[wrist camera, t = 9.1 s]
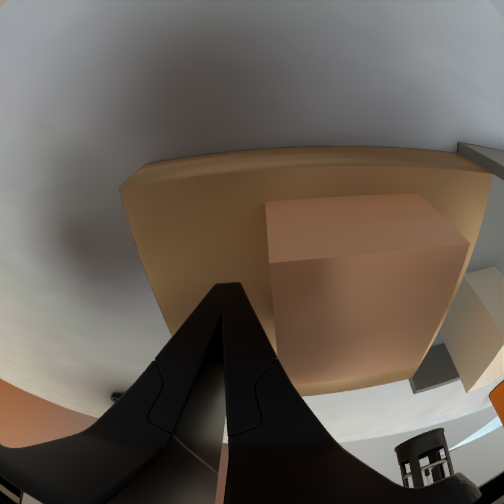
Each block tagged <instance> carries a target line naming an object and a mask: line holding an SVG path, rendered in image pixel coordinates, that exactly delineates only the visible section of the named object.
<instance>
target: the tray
mask: <svg viewBox="0 0 504 504" xmlns="http://www.w3.org/2000/svg"><path fill="white" fill-rule="evenodd" d="M458 154H460V155H462V156H464V157H465V158H467V159H469V160H471V161H472V162H474V163H476V164H478V165H479V166H481V167H483V168H484V169H486V170H488V171H489V172H491V173H492V174H493V177H492V182H491V187H490V192H489V196H488V201H487V205H486V209H485V213H484V217H483V220H482V224H481V227H480V231H479V234H478V237H477V240H476V244H475V247H474V250H473V253H472V255H471V258H470V261H469V264H468V267H467V269H466V272H465V273H469V272H473V271H477V270H482V269H486V268H490V267H494V266H496V268H497V269H498V270H499V271H500V272H501V274H502V275H503V276H504V151H502V150H497V149H492V148H487V147H482V146H477V145H471V144H465V143H459V145H458ZM443 323H444V322H443ZM442 325H443V324H442ZM441 327H442V326H441ZM440 329H441V328H440ZM439 332H440V330H439ZM439 332H438V334H437V336H436V338H435V339H434V341H433V343H432V345H431V347H430V349H429V350H428V352H427V354H426V356H425V357H424V359H423V361H422V362H421V364H420V366H419V367H418V369H417V371H416V372H415V374H414V375H413V377H412V378H409V382H410V385H411V388H412V391H413V394H416V393H420V392H424V391H427V390H430V389H434V388H437V387H440V386H443V385H446V384H449V383H452V382H455V381H458V380H460V379H461V378H460V376H459V374H458V371H457V369H456V367H455V365H454V362H453V360H452V358H451V356H450V354H449V352H448V350H447V347H446V345H445V343H444V341H443V339H442V337H441V335H440V333H439Z"/></svg>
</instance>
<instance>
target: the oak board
mask: <svg viewBox="0 0 504 504" xmlns="http://www.w3.org/2000/svg"><path fill="white" fill-rule="evenodd" d="M492 177H493V174H492V173H491V172H489V171H488V170H486V169H484V168H483V167H481V166H479V165H478V164H476V163H474V162H472V161H471V160H469V159H467V158H465V157H464V156H462V155H460V154H458V153H451V152H443V151H433V150H422V149H409V148H392V147H366V146H316V147H289V148H271V149H257V150H245V151H235V152H225V153H216V154H208V155H200V156H193V157H186V158H179V159H172V160H166V161H160V162H154V163H149V164H145V165H144V166H143V167H141V168H140V169H139V170H138V171H137V172H136V173H135V174H134V175H132V176H131V177H130V178H129V179H128V180H127V181H126V182H125V183H124V184H123V185H121V186H120V187H119V191H120V195H121V198H122V202H123V205H124V209H125V212H126V215H127V219H128V222H129V225H130V228H131V231H132V234H133V237H134V240H135V243H136V246H137V249H138V252H139V255H140V258H141V261H142V263H143V266H144V269H145V272H146V274H147V277H148V280H149V282H150V285H151V287H152V290H153V292H154V295H155V297H156V300H157V302H158V305H159V307H160V310H161V312H162V315H163V317H164V319H165V322H166V324H167V326H168V329H169V331H170V333H171V335H172V336H173V335H174V334H175V333H176V331H177V330H178V329H179V328H180V326H181V325H182V324H183V323H184V321H185V320H186V319H187V318H188V317H189V315H190V314H191V313H192V312H193V310H194V309H195V308H196V307H197V305H198V304H199V303H200V302H201V300H202V299H203V298H204V297H205V296H206V294H207V293H208V292H209V291H210V289H211V288H212V287H213V286H214V285H215V284H216V283H229V282H240V283H241V284H242V286H243V288H244V290H245V292H246V294H247V296H248V298H249V300H250V302H251V305H252V307H253V309H254V311H255V313H256V315H257V317H258V319H259V321H260V323H261V325H262V327H263V329H264V331H265V333H266V335H267V337H268V339H269V341H270V343H271V345H272V347H273V349H274V351H275V353H276V355H277V346H276V334H275V322H274V310H273V299H272V288H271V277H270V266H269V252H268V237H267V222H266V209H265V202H271V201H283V200H296V199H309V198H324V197H341V196H361V195H386V194H419V195H420V196H422V197H423V198H424V199H425V200H426V201H427V202H428V203H429V204H431V205H432V206H433V207H434V208H435V209H436V210H437V211H438V212H439V213H440V214H441V215H442V216H443V217H445V218H446V219H447V220H448V221H449V222H450V223H451V224H452V225H453V226H454V227H455V228H456V229H457V230H458V231H459V232H460V233H461V234H462V235H463V236H464V237H465V238H466V239H467V241H468V242H469V243H470V246H469V249H468V252H467V255H466V258H465V261H464V264H463V267H462V270H461V273H460V276H459V278H458V281H457V284H456V286H455V289H454V291H453V294H452V296H451V299H450V301H449V304H448V306H447V308H446V311H445V313H444V315H443V317H442V319H441V322H440V324H439V326H438V328H437V330H436V332H435V334H434V336H433V338H432V340H431V342H430V344H429V346H428V348H427V350H426V352H425V354H424V355H423V357H422V359H421V361H420V363H419V364H416V365H412V366H408V367H404V368H400V369H395V370H391V371H386V372H381V373H376V374H371V375H366V376H360V377H354V378H348V379H342V380H335V381H328V382H320V383H311V384H302V385H293V386H294V387H295V388H296V390H297V391H298V393H299V394H300V396H301V397H302V396H312V395H321V394H329V393H336V392H343V391H350V390H356V389H362V388H367V387H373V386H378V385H383V384H387V383H392V382H397V381H401V380H405V379H409V378H412V377H413V375H414V374H415V372H416V371H417V369H418V367H419V366H420V364H421V362H422V361H423V359H424V357H425V356H426V354H427V352H428V350H429V349H430V347H431V345H432V343H433V341H434V339H435V338H436V336H437V334H438V332H439V330H440V328H441V326H442V324H443V322H444V320H445V318H446V316H447V314H448V312H449V310H450V307H451V305H452V303H453V301H454V299H455V296H456V294H457V292H458V289H459V287H460V284H461V282H462V280H463V277H464V274H465V272H466V269H467V267H468V264H469V261H470V258H471V255H472V253H473V250H474V247H475V244H476V240H477V237H478V234H479V231H480V227H481V224H482V220H483V217H484V213H485V209H486V205H487V201H488V196H489V192H490V187H491V182H492Z"/></svg>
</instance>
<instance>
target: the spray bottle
mask: <svg viewBox="0 0 504 504" xmlns="http://www.w3.org/2000/svg"><path fill="white" fill-rule="evenodd" d="M489 398H490V400H491V402H492V404H493V406H494V408H495V410H496V412H497V414H498V416H499V418H500V420H501V422H502V424H503V426H504V381H502V382H501V383H500V384H499V385H498V386H497V387H496V388H495V389H494V390H493V391H492V392H491V393H490V395H489Z"/></svg>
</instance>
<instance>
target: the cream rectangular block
mask: <svg viewBox="0 0 504 504" xmlns="http://www.w3.org/2000/svg"><path fill="white" fill-rule="evenodd" d="M439 333H440V335H441V337H442V339H443V341H444V343H445V345H446V347H447V350H448V352H449V354H450V356H451V358H452V360H453V362H454V365H455V367H456V369H457V371H458V374H459V376H460V378H461V381H462V383H463V386H464V388H465V391H466V393H469V392H471V391H473V390H476V389H478V388H480V387H482V386H484V385H486V384H488V383H490V382H492V381H494V380H496V379H498V378H500V377H501V376H502V374H503V373H504V276H503V275H502V274H501V272H500V271H499V270H498V269H497V268H496V266H494V267H490V268H486V269H482V270H477V271H473V272H469V273H465V274H464V277H463V280H462V282H461V284H460V287H459V289H458V292H457V294H456V296H455V299H454V301H453V303H452V305H451V307H450V310H449V312H448V314H447V316H446V318H445V320H444V323H443V325H442V327H441V329H440V332H439Z"/></svg>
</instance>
